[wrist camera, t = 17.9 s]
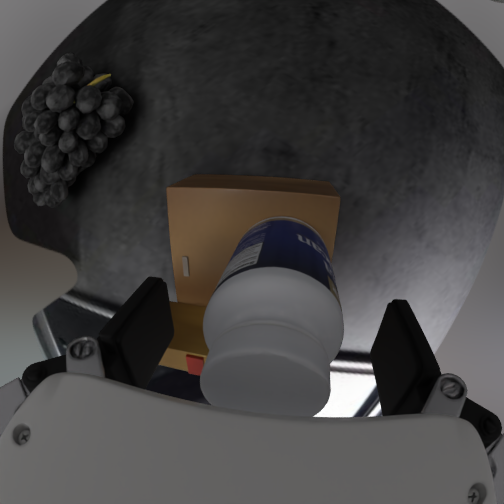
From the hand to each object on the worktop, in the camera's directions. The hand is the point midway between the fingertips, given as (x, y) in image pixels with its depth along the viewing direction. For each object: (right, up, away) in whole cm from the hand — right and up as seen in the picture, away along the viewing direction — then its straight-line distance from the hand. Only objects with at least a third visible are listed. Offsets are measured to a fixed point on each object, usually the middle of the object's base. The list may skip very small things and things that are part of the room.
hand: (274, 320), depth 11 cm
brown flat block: (-2, +2, +11) cm, 12 cm away
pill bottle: (+1, +2, +5) cm, 6 cm away
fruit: (-16, +13, +9) cm, 23 cm away
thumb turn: (-5, -2, +8) cm, 10 cm away
